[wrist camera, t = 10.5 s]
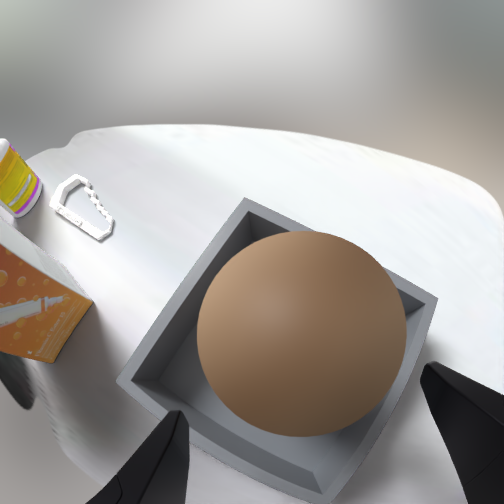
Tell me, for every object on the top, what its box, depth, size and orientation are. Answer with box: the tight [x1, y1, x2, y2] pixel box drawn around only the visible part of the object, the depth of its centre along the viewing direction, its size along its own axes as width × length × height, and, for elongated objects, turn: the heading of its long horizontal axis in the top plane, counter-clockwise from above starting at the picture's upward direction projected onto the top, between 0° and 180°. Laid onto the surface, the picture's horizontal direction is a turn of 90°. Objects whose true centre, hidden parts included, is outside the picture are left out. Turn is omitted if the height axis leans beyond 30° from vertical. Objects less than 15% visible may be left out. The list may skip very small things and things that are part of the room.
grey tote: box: [115, 197, 438, 504], centre depth 16 cm, size 15×15×5 cm
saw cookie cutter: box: [50, 174, 114, 241], centre depth 26 cm, size 13×5×2 cm, turn 63°
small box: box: [0, 216, 93, 363], centre depth 15 cm, size 8×6×13 cm
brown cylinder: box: [197, 231, 407, 437], centre depth 12 cm, size 5×5×13 cm
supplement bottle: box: [0, 139, 42, 218], centre depth 22 cm, size 7×7×13 cm
